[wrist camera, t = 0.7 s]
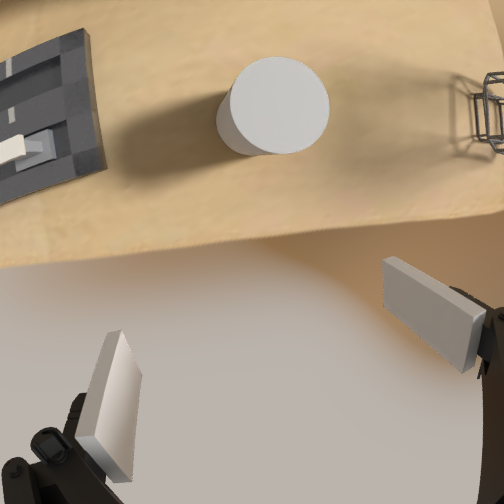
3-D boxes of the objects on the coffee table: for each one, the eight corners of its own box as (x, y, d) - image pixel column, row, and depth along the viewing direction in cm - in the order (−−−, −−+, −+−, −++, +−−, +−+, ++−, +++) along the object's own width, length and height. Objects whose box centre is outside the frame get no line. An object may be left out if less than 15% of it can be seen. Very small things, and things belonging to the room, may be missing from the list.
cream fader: (17, 143, 28) (-15, 142, 22) (52, 130, 29) (23, 125, 22) (22, 171, 30) (-11, 175, 23) (56, 158, 30) (28, 159, 23)
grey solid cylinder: (245, 169, 36) (272, 174, 25) (201, 113, 33) (208, 91, 22) (299, 129, 36) (347, 118, 25) (258, 74, 33) (290, 40, 22)
